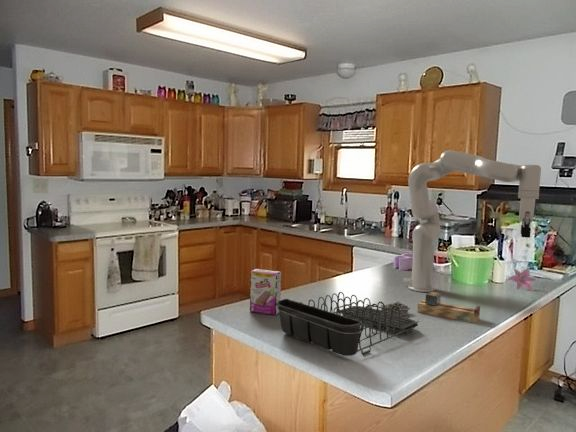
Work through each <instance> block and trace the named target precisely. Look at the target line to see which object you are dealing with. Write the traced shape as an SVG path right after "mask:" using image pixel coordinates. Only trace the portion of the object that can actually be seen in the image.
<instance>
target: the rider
mask: <svg viewBox="0 0 576 432" xmlns="http://www.w3.org/2000/svg"><path fill="white" fill-rule="evenodd" d="M441 297H442V294H441V293H440V292H437V291H433V292H426V294H425V304H430V305H435V306H437V305H438V304H439V303H441Z"/></svg>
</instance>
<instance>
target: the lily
mask: <svg viewBox="0 0 576 432" xmlns="http://www.w3.org/2000/svg"><path fill="white" fill-rule="evenodd" d="M530 270H531V269H530V267H527V268H525V269H524V270H522V271H519V270H518V269H516V268H513V271H514V274H515V275H511V276H508V278H507V280H509V281H511V282H514V283H516V290H517V291H519V290H520V289H522V288H523V287H524V288H526V289H527V290H528V291H531V292H534V289H533V288H534V287H533V285H532V283H534V282H537V279H535V278H534V277H531V271H530Z"/></svg>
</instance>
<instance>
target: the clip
mask: <svg viewBox="0 0 576 432" xmlns="http://www.w3.org/2000/svg"><path fill="white" fill-rule="evenodd" d="M412 264H413V253H401V254H400V255H394V256H393V269H394V270H395V269H398V270H399V271H408V270H412Z"/></svg>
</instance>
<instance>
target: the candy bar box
mask: <svg viewBox="0 0 576 432" xmlns="http://www.w3.org/2000/svg"><path fill="white" fill-rule="evenodd" d="M249 284H250V286H249V287H250V290H249V293H250V294H249V295H250V296H249V297H250V298H249V299H250V300H249V312H251V313H257V314H265V315H270V316H278V314H280V313H279V310H278V309H277V308H278V306H277V305H276V303H277V302H278V301H280V300H281V292H282V290H281V286H282V271H278V270H271V269H270V270H268V269H263V268H262V269H261V268H254V269H252V270H251V271H250V283H249Z"/></svg>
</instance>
